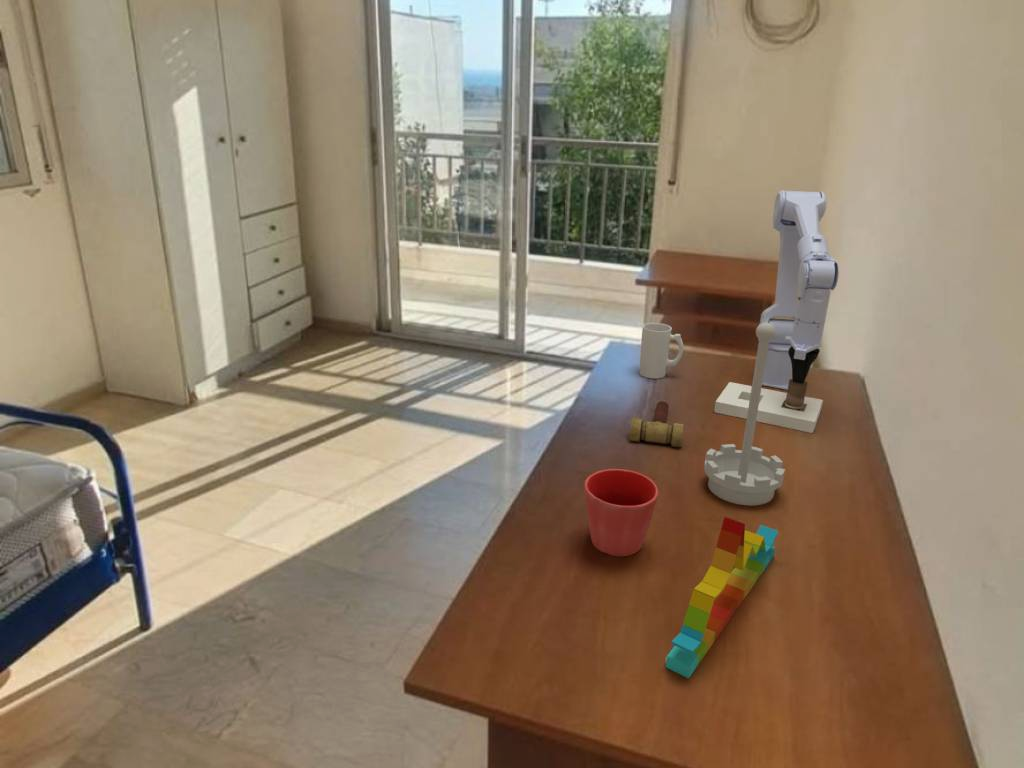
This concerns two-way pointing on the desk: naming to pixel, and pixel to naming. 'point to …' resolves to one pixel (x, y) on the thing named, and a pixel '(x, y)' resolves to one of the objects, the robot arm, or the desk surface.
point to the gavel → (657, 428)
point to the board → (769, 407)
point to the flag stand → (747, 450)
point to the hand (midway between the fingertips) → (798, 381)
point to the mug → (657, 350)
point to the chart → (721, 591)
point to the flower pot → (619, 510)
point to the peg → (795, 395)
